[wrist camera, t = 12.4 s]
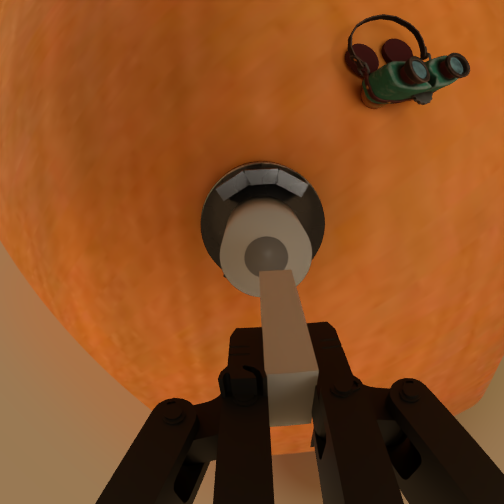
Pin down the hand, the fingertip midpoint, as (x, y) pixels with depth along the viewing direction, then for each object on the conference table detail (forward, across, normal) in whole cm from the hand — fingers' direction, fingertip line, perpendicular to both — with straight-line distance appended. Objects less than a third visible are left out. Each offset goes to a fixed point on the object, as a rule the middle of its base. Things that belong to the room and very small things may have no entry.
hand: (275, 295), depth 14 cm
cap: (+13, 0, -1) cm, 13 cm away
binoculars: (+17, +13, +16) cm, 26 cm away
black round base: (+17, 0, 0) cm, 17 cm away
